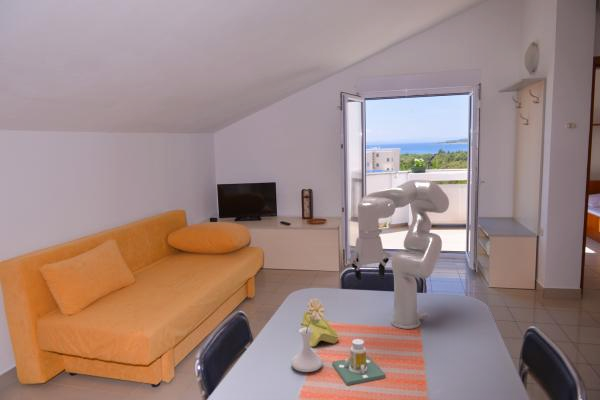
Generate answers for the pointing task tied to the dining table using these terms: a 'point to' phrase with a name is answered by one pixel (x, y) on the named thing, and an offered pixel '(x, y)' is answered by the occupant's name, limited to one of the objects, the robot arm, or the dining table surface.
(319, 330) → the plastic component
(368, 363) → the board
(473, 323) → the dining table surface
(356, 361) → the supplement bottle
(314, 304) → the flower in vase
